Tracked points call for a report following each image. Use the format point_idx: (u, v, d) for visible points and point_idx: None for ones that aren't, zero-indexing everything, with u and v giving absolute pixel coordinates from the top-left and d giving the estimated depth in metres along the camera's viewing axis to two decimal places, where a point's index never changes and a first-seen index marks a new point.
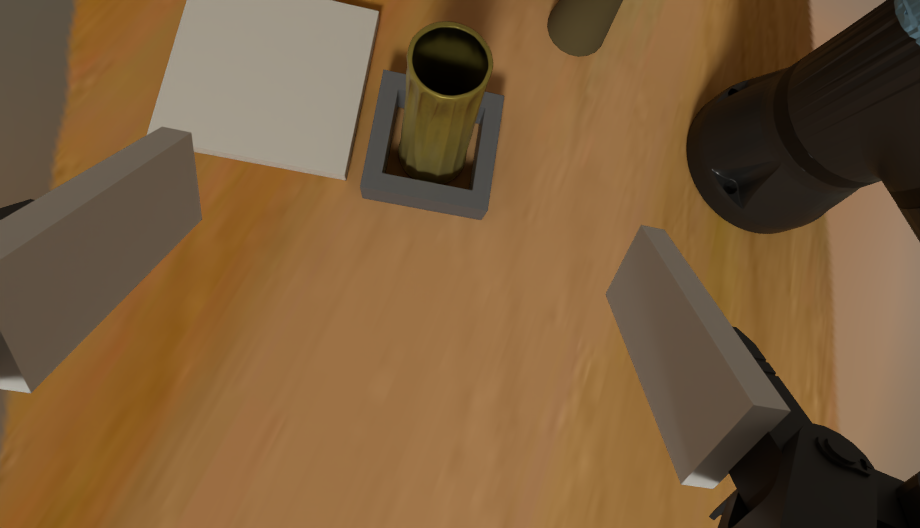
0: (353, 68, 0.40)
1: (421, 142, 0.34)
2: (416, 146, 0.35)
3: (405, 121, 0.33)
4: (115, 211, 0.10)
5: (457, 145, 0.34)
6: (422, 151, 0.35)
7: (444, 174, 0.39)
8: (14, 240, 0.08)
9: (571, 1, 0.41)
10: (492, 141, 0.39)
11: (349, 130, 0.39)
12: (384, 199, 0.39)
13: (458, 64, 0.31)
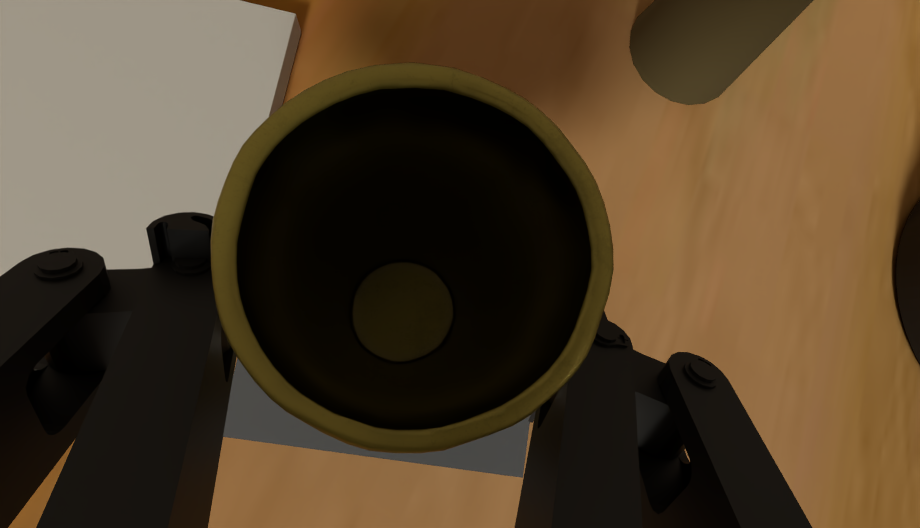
0: (234, 135, 0.19)
1: None
2: None
3: None
4: None
5: None
6: None
7: None
8: None
9: None
10: None
11: None
12: None
13: (459, 187, 0.10)
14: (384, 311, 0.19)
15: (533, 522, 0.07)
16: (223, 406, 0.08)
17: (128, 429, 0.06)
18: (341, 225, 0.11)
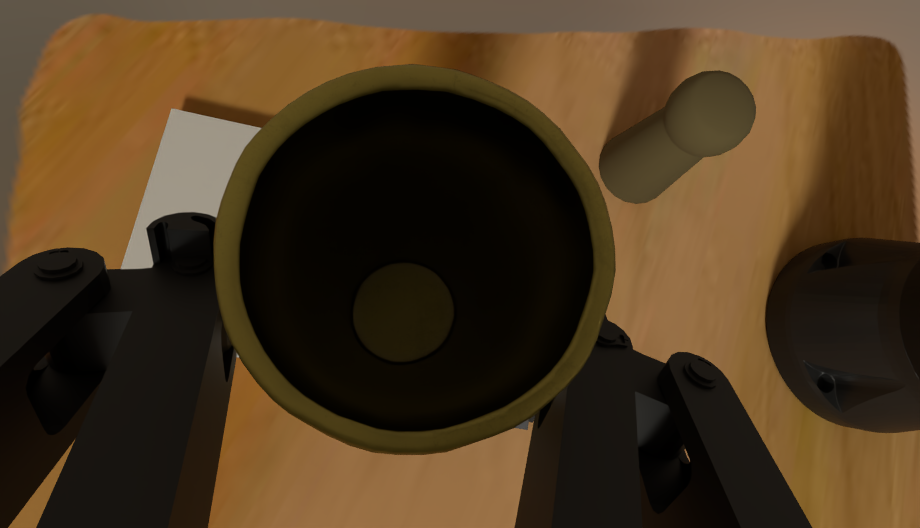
0: None
1: None
2: None
3: None
4: None
5: None
6: None
7: None
8: None
9: (635, 154, 0.33)
10: None
11: None
12: None
13: (461, 188, 0.10)
14: (385, 312, 0.19)
15: (533, 522, 0.07)
16: (223, 406, 0.08)
17: (128, 429, 0.06)
18: (343, 226, 0.11)
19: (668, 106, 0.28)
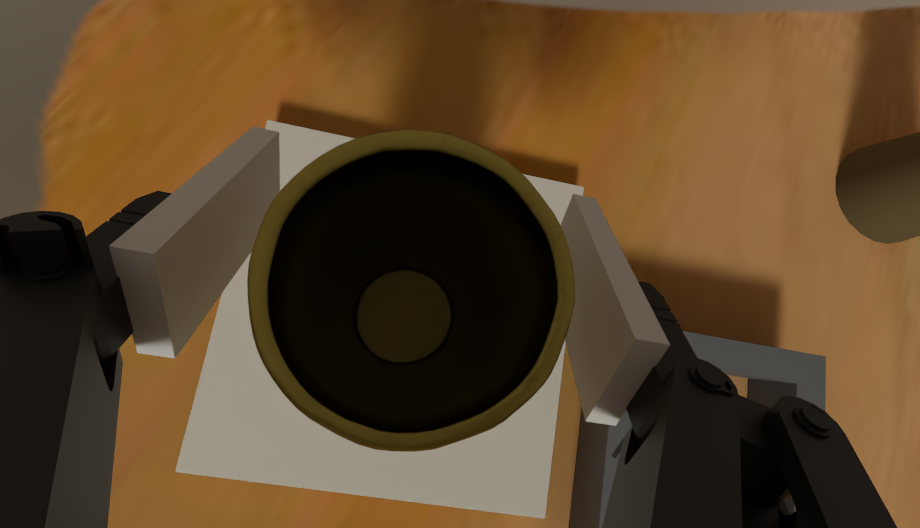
0: None
1: None
2: None
3: None
4: (232, 202, 0.11)
5: None
6: None
7: None
8: (172, 224, 0.09)
9: None
10: None
11: (549, 424, 0.21)
12: None
13: (453, 216, 0.11)
14: (387, 316, 0.20)
15: None
16: (110, 416, 0.08)
17: None
18: (348, 247, 0.12)
19: None
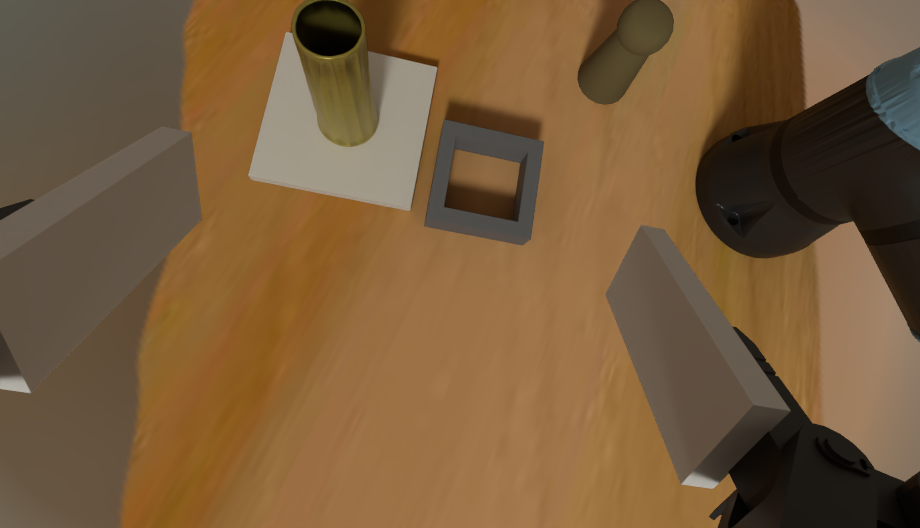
0: (416, 116, 0.48)
1: (322, 103, 0.39)
2: (320, 107, 0.40)
3: None
4: (115, 211, 0.10)
5: (354, 106, 0.39)
6: (326, 112, 0.40)
7: (354, 136, 0.45)
8: (14, 240, 0.08)
9: (600, 62, 0.48)
10: (534, 180, 0.46)
11: (414, 169, 0.47)
12: (442, 228, 0.47)
13: (348, 34, 0.37)
14: None
15: None
16: None
17: None
18: (318, 50, 0.38)
19: (619, 21, 0.44)
